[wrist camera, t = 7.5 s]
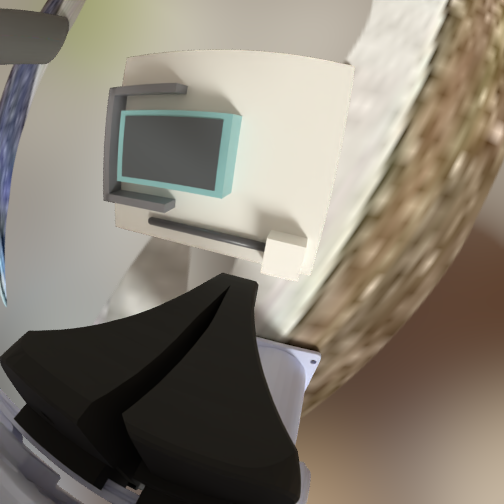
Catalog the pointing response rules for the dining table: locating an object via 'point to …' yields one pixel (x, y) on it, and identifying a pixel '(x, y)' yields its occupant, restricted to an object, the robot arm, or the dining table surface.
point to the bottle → (30, 36)
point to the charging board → (241, 152)
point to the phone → (179, 150)
